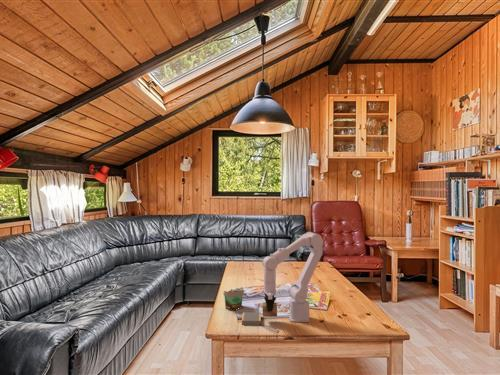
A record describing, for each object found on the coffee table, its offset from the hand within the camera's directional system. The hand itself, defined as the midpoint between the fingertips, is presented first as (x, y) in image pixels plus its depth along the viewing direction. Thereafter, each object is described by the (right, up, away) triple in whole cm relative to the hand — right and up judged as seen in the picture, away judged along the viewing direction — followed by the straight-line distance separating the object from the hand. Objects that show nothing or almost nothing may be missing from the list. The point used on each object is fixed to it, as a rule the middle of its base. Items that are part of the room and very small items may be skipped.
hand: (269, 308), depth 160 cm
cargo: (0, +2, 0) cm, 2 cm away
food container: (-17, -6, +17) cm, 25 cm away
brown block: (0, -3, 0) cm, 3 cm away
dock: (-9, -6, +1) cm, 11 cm away
